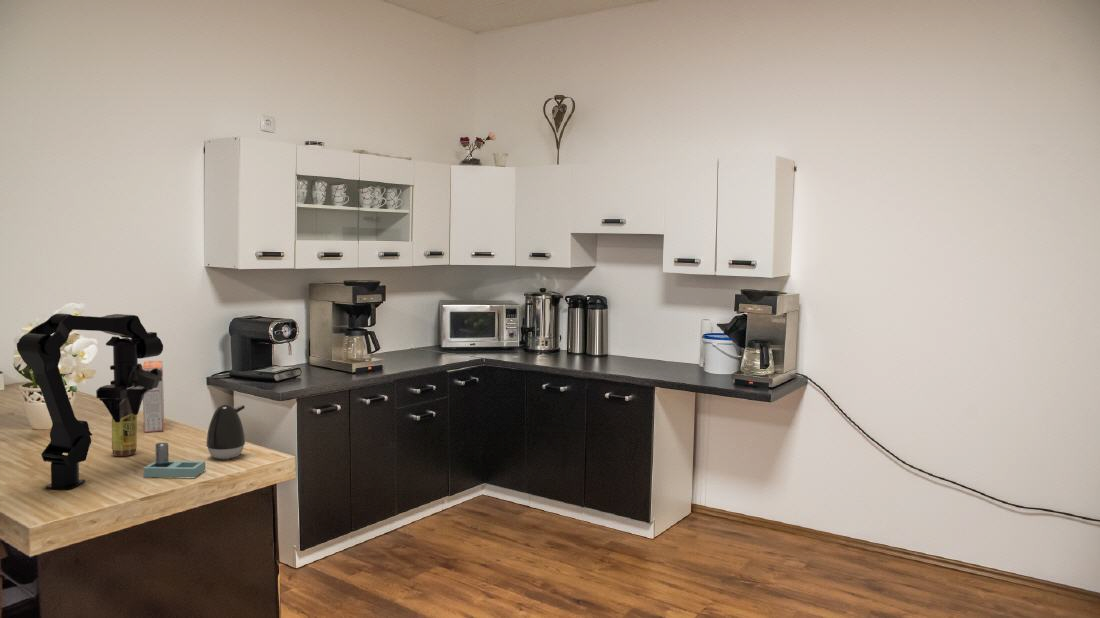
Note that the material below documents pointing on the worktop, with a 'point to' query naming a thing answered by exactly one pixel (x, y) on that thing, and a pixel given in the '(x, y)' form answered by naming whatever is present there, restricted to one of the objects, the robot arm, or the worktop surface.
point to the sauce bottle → (125, 432)
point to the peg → (162, 455)
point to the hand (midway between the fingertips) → (126, 418)
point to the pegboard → (175, 469)
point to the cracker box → (153, 402)
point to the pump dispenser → (226, 432)
